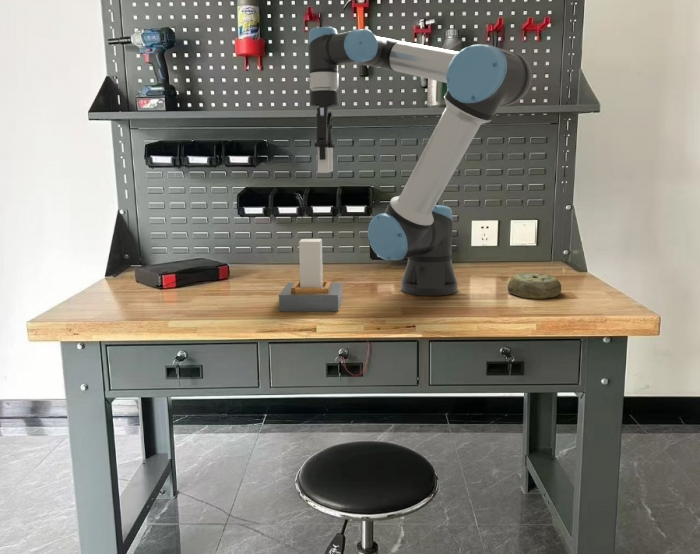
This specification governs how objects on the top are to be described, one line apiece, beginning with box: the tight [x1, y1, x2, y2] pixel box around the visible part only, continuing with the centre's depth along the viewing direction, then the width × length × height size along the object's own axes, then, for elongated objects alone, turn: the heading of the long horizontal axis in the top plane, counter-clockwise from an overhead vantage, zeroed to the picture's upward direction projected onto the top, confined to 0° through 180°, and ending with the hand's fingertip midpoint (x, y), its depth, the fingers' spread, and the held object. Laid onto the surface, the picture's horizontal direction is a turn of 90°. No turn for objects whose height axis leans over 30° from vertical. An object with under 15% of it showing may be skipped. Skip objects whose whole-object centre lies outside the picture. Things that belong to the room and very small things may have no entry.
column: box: [298, 238, 324, 288], centre depth 146 cm, size 5×5×12 cm
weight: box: [507, 272, 562, 300], centre depth 156 cm, size 14×13×5 cm
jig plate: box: [278, 280, 343, 313], centre depth 148 cm, size 14×14×5 cm
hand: (325, 172), depth 162 cm, fingers open, 13 cm apart
